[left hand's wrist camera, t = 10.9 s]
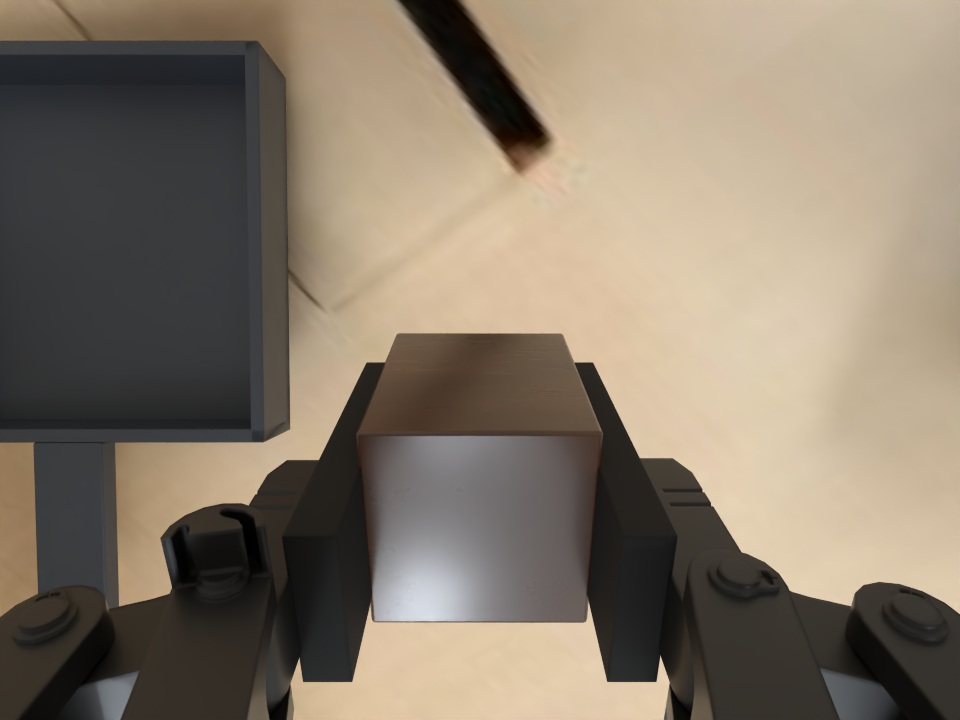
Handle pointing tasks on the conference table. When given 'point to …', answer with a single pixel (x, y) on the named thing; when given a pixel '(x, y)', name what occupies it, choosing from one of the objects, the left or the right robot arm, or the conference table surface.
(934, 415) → the conference table surface
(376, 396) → the walnut block
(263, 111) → the pan
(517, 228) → the conference table surface
